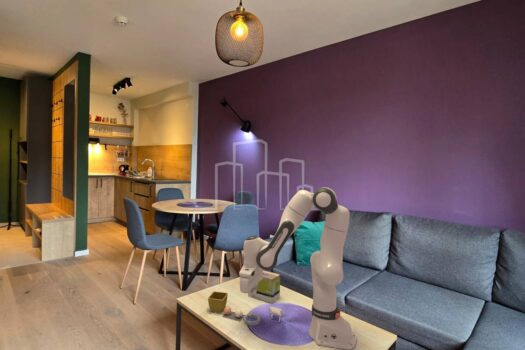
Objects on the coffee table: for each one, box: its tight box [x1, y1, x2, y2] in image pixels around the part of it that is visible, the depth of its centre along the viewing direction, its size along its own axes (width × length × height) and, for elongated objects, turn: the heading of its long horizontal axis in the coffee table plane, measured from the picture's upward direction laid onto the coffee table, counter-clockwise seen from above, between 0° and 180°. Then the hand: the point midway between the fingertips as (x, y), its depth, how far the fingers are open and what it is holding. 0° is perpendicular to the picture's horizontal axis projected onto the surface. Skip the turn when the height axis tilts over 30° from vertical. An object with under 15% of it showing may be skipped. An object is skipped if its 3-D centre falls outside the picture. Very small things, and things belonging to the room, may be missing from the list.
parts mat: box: [221, 310, 246, 323], centre depth 159 cm, size 11×7×1 cm, turn 66°
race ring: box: [242, 313, 262, 327], centre depth 155 cm, size 8×8×2 cm
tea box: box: [252, 270, 281, 304], centre depth 183 cm, size 15×10×15 cm
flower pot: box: [207, 290, 229, 314], centre depth 165 cm, size 9×9×9 cm
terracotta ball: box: [223, 306, 232, 315], centre depth 161 cm, size 4×4×4 cm
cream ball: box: [234, 308, 244, 318], centre depth 158 cm, size 4×4×4 cm
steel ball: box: [251, 288, 256, 298], centre depth 154 cm, size 4×4×4 cm
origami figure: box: [268, 306, 286, 323], centre depth 160 cm, size 12×8×5 cm
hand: (252, 294), depth 154 cm, fingers closed on steel ball, 4 cm apart
